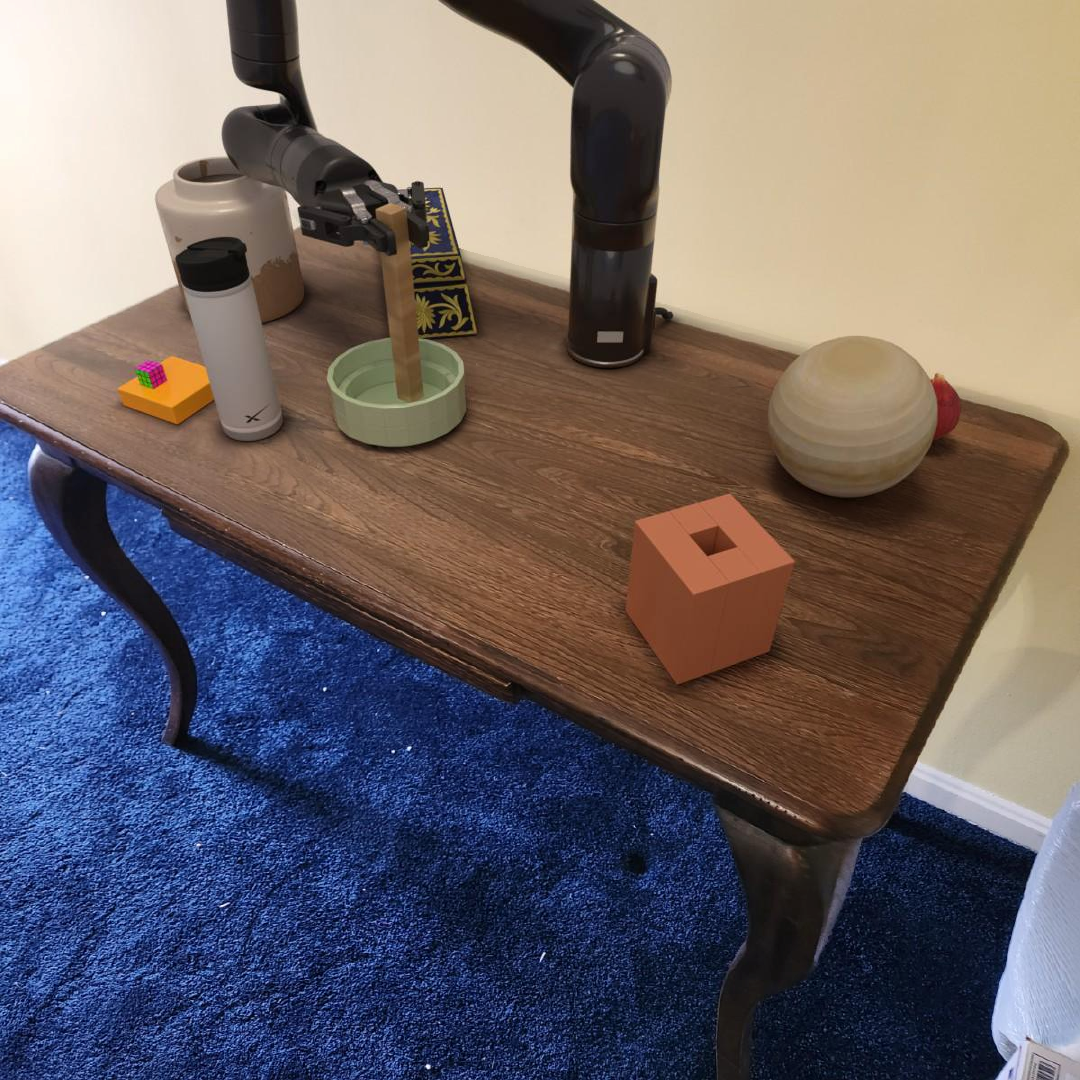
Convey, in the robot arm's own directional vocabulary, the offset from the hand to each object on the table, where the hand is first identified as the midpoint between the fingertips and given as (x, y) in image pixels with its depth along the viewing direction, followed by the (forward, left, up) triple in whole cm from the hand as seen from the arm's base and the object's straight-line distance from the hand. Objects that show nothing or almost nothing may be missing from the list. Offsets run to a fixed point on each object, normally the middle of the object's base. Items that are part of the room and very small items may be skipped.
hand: (408, 240), depth 77 cm
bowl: (+1, -5, -21) cm, 21 cm away
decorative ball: (-35, +23, -21) cm, 47 cm away
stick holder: (-12, +35, -21) cm, 43 cm away
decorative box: (-11, -34, -21) cm, 41 cm away
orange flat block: (+23, -17, -21) cm, 36 cm away
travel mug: (+16, -9, -21) cm, 28 cm away
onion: (-48, +21, -21) cm, 56 cm away
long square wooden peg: (+1, -3, -18) cm, 18 cm away
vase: (+12, -39, -21) cm, 46 cm away
